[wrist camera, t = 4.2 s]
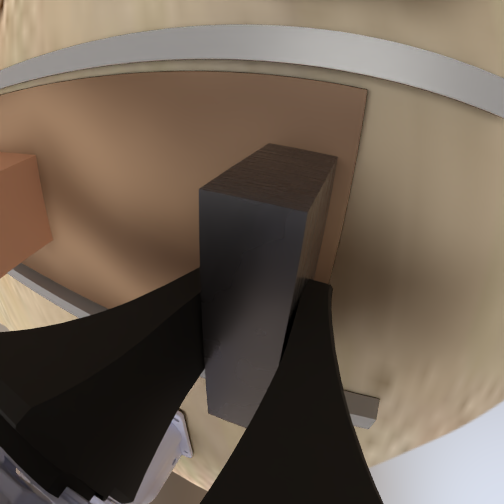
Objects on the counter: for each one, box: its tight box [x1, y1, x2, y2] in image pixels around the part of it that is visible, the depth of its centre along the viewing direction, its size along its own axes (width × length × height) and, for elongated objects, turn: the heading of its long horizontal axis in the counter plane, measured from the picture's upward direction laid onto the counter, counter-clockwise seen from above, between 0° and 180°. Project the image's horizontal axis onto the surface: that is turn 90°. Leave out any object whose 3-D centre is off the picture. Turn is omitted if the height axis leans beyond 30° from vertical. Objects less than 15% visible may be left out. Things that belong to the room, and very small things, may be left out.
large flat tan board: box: [0, 71, 367, 428], centre depth 12 cm, size 12×24×4 cm, turn 86°
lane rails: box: [0, 25, 504, 429], centre depth 14 cm, size 15×36×1 cm, turn 86°
